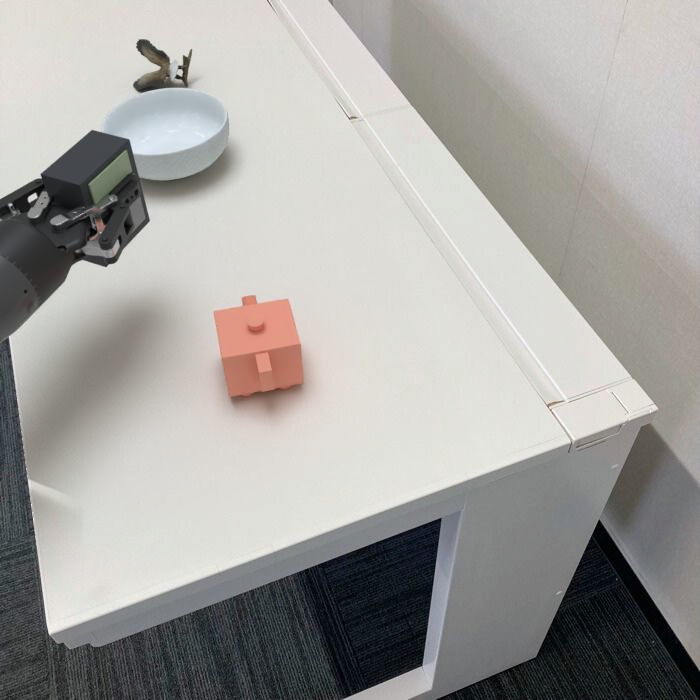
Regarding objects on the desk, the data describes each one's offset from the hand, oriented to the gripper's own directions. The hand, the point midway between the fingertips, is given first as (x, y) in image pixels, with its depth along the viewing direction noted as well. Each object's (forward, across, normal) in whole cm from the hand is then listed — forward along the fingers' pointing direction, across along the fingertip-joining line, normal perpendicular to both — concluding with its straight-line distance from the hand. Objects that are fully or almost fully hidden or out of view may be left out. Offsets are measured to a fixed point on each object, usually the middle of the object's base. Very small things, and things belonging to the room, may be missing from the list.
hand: (112, 176), depth 77 cm
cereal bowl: (+25, +12, +18) cm, 33 cm away
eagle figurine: (+43, +25, +18) cm, 52 cm away
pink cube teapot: (-4, -17, +17) cm, 25 cm away
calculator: (-3, 0, +6) cm, 7 cm away
